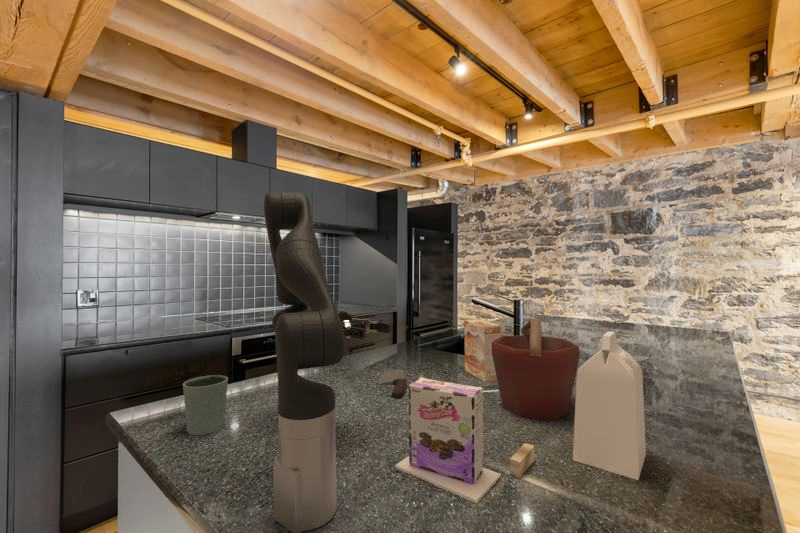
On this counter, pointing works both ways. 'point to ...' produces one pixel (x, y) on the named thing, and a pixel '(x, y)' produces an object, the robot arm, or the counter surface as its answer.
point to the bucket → (535, 372)
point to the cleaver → (394, 381)
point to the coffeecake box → (480, 348)
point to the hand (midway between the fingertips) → (377, 331)
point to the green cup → (205, 404)
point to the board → (454, 481)
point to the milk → (610, 411)
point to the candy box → (446, 428)
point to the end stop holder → (522, 460)
